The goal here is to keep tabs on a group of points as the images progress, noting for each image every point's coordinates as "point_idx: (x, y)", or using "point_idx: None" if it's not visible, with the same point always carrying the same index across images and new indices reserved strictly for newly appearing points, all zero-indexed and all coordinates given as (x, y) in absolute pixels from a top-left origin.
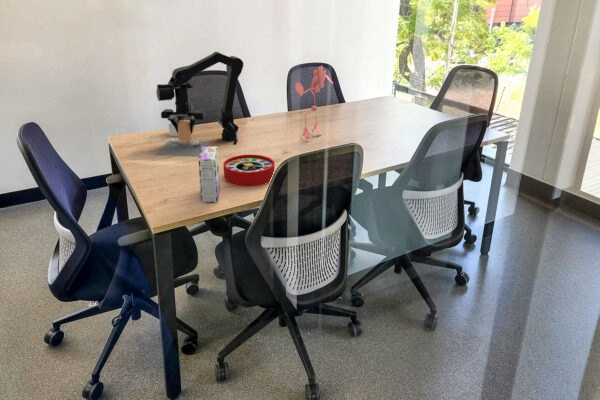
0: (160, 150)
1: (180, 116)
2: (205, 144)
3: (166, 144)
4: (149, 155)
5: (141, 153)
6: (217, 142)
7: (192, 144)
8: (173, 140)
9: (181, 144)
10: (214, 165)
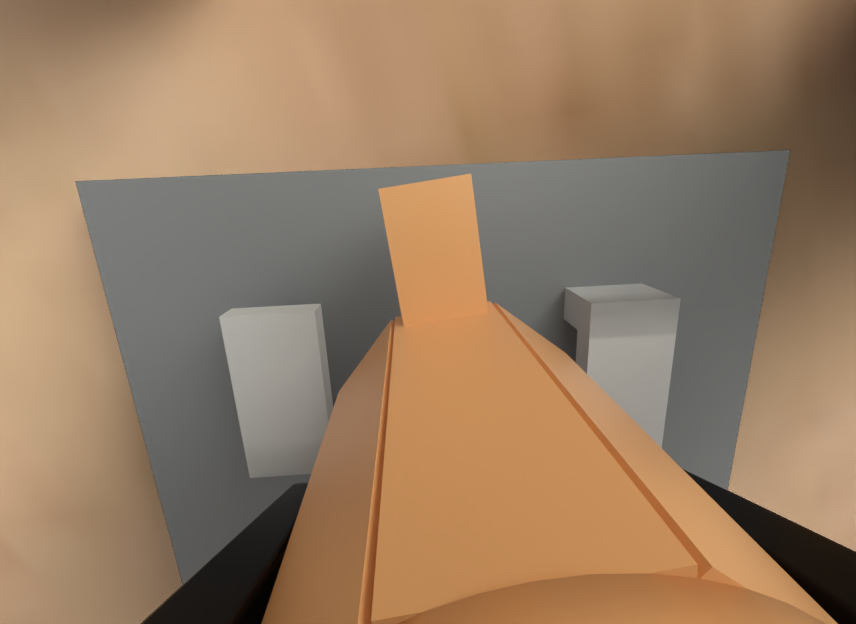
0: None
1: None
2: (712, 284)
3: (152, 380)
4: (131, 611)
5: (6, 581)
6: (834, 3)
7: (525, 316)
8: (233, 388)
9: (368, 344)
10: None
